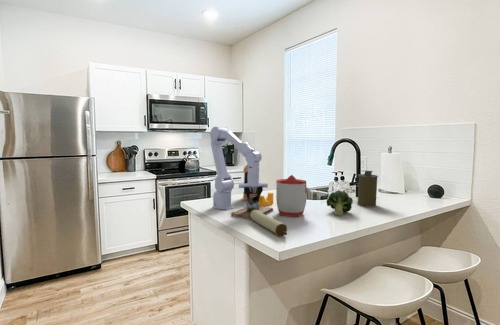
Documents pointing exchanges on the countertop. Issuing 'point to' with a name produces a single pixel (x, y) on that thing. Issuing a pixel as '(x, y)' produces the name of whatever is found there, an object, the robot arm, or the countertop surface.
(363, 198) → the canister
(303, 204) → the citrus juicer
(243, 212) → the base plate
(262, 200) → the pipe clamp
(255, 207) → the twist cap
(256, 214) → the beige long cylinder
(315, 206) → the countertop surface
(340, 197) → the vegetable
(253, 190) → the whiskey bottle
